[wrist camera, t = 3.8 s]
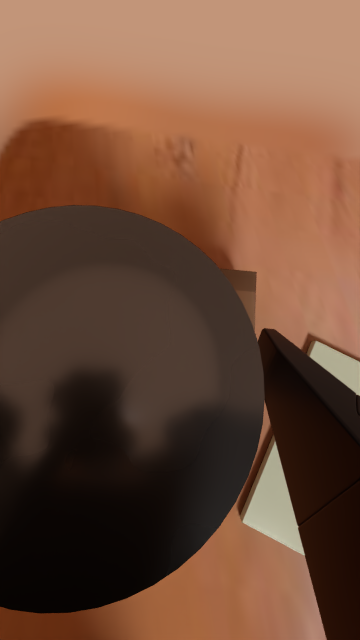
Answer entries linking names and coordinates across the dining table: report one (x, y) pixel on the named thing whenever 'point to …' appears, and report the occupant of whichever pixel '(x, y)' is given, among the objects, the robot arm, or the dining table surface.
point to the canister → (115, 405)
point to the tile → (270, 485)
